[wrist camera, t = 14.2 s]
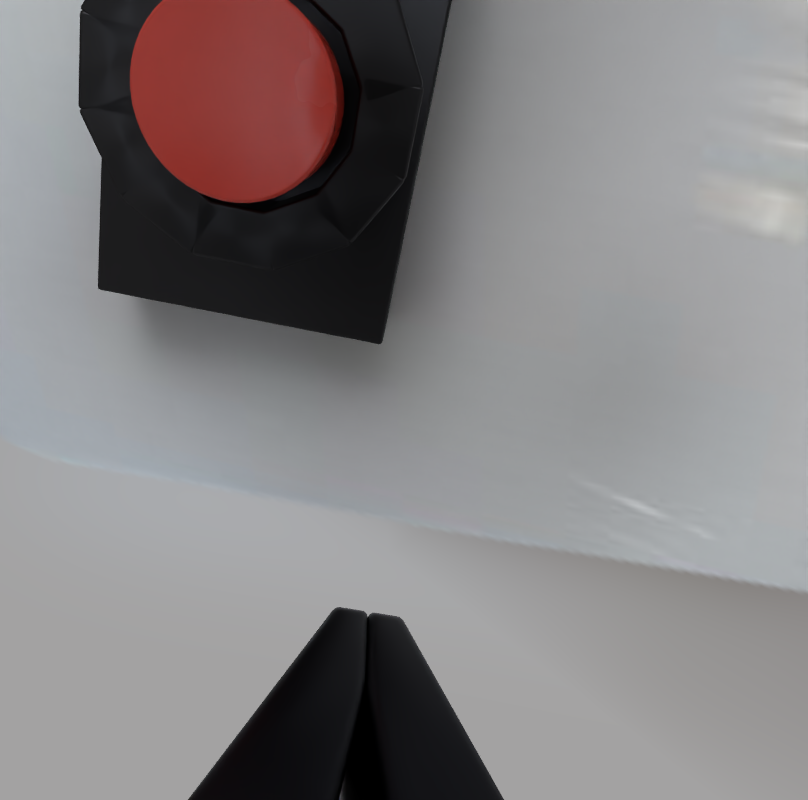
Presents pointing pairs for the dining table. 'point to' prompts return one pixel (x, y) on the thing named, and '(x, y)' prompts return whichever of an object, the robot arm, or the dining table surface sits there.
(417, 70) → the switch block
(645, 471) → the dining table surface
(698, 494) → the dining table surface
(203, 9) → the button
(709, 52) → the dining table surface
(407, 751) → the robot arm
